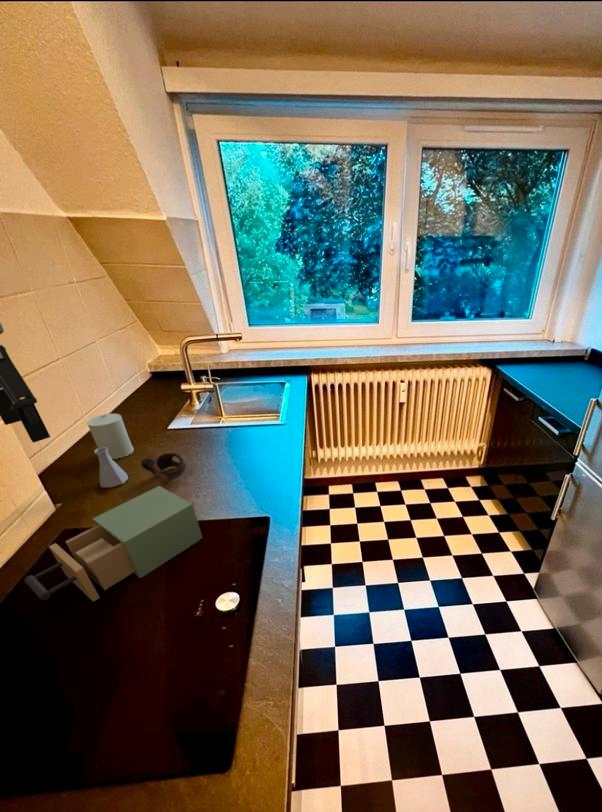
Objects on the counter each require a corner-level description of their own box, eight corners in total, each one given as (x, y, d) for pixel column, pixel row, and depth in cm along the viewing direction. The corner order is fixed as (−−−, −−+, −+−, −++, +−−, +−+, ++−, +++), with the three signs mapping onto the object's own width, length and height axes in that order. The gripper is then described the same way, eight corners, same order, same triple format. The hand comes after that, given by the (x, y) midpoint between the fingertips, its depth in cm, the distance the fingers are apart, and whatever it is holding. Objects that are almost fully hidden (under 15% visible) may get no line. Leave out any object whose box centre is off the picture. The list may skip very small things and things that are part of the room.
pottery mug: (191, 465, 116) (189, 450, 109) (184, 493, 111) (182, 478, 104) (146, 460, 112) (141, 444, 106) (138, 488, 107) (132, 473, 101)
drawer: (58, 623, 67) (37, 593, 63) (32, 594, 73) (12, 564, 69) (161, 559, 80) (149, 530, 76) (132, 538, 86) (120, 510, 82)
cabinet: (140, 578, 77) (124, 542, 72) (109, 553, 83) (92, 518, 78) (202, 538, 87) (192, 504, 82) (171, 518, 93) (159, 485, 88)
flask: (103, 476, 110) (89, 445, 105) (131, 472, 112) (118, 441, 106) (96, 490, 104) (81, 458, 99) (126, 485, 106) (113, 453, 100)
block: (123, 566, 77) (114, 547, 75) (97, 581, 74) (87, 562, 71) (111, 556, 80) (101, 537, 77) (85, 571, 76) (75, 552, 74)
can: (133, 443, 127) (120, 409, 121) (134, 455, 120) (121, 419, 114) (101, 450, 123) (86, 415, 117) (101, 463, 117) (85, 426, 110)
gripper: (20, 314, 59) (77, 439, 70) (-32, 301, 71) (24, 410, 82) (-44, 322, 54) (29, 456, 65) (-88, 307, 66) (-20, 422, 77)
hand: (26, 430), depth 74 cm, fingers open, 13 cm apart
